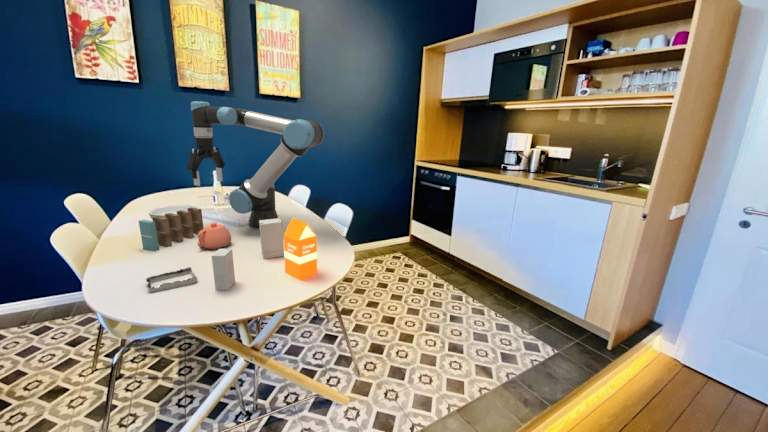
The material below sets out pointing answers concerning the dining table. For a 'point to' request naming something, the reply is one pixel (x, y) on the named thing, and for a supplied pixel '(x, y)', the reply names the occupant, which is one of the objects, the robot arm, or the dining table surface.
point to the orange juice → (300, 250)
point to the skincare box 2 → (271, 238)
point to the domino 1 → (148, 235)
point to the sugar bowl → (214, 236)
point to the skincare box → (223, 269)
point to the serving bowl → (169, 210)
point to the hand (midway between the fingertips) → (209, 183)
